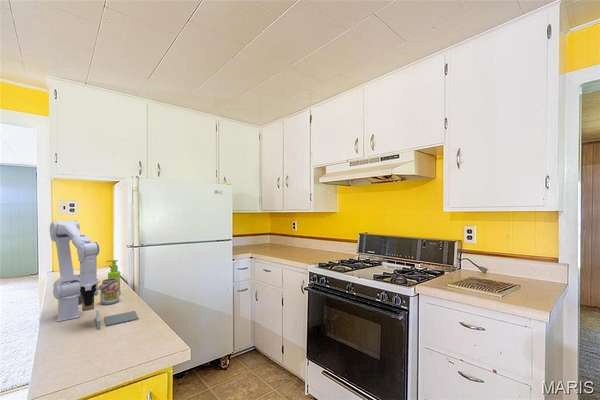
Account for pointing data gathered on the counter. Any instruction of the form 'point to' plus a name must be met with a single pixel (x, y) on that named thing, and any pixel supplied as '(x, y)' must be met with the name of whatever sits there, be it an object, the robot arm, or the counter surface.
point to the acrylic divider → (98, 320)
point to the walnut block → (86, 308)
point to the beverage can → (109, 291)
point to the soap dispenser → (114, 272)
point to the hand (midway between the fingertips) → (88, 304)
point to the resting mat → (120, 318)
